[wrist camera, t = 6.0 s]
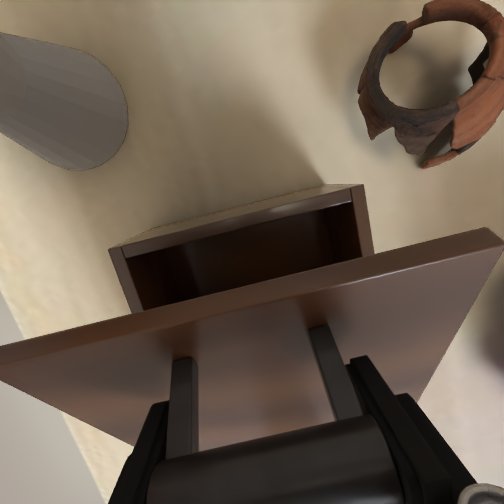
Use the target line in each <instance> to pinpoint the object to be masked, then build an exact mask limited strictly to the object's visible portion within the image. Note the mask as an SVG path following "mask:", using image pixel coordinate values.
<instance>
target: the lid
mask: <svg viewBox="0 0 504 504" xmlns="http://www.w3.org/2000/svg"><path fill="white" fill-rule="evenodd" d="M503 250H504V241H503V240H502V239H501V238H500V237H499V236H497V235H496V234H495V233H494V232H492V231H491V230H490V229H489V228H487V227H483V228H479V229H475V230H471V231H467V232H463V233H459V234H455V235H451V236H447V237H443V238H438V239H434V240H430V241H426V242H422V243H418V244H414V245H410V246H406V247H402V248H398V249H394V250H390V251H385V252H381V253H377V254H373V255H369V256H365V257H361V258H357V259H353V260H349V261H345V262H341V263H337V264H332V265H328V266H324V267H320V268H316V269H312V270H308V271H304V272H300V273H296V274H292V275H288V276H284V277H280V278H275V279H271V280H267V281H263V282H259V283H255V284H251V285H247V286H243V287H239V288H235V289H231V290H227V291H222V292H218V293H214V294H210V295H206V296H202V297H198V298H194V299H190V300H186V301H182V302H178V303H174V304H169V305H165V306H161V307H157V308H153V309H149V310H145V311H141V312H137V313H133V314H129V315H125V316H121V317H116V318H112V319H108V320H104V321H100V322H96V323H92V324H88V325H84V326H80V327H76V328H72V329H68V330H64V331H59V332H55V333H51V334H47V335H43V336H39V337H35V338H31V339H27V340H23V341H19V342H15V343H11V344H7V345H2V346H0V380H1V381H2V382H5V383H7V384H9V385H11V386H13V387H15V388H17V389H19V390H21V391H23V392H25V393H27V394H29V395H31V396H33V397H35V398H37V399H39V400H41V401H43V402H45V403H47V404H49V405H51V406H53V407H55V408H57V409H59V410H61V411H63V412H65V413H67V414H69V415H71V416H73V417H75V418H77V419H79V420H81V421H83V422H85V423H87V424H89V425H91V426H93V427H95V428H97V429H99V430H101V431H103V432H105V433H107V434H110V435H112V436H114V437H116V438H118V439H120V440H122V441H124V442H126V443H128V444H130V445H132V446H134V447H135V444H136V442H137V439H138V437H139V434H140V432H141V430H142V427H143V425H144V422H145V420H146V417H147V415H148V412H149V410H150V407H151V406H152V404H154V403H158V402H162V401H167V400H169V413H168V428H167V443H166V458H165V459H164V460H161V461H160V462H159V463H158V464H157V465H156V466H155V468H154V470H153V472H152V474H151V477H150V481H149V485H148V489H147V495H146V504H405V497H404V491H403V486H402V482H401V478H400V475H399V472H398V469H397V466H396V463H395V460H394V458H393V455H392V453H391V450H390V448H389V445H388V443H387V441H386V439H385V437H384V434H383V432H382V431H381V429H380V427H379V425H378V423H377V422H376V420H375V419H374V418H373V416H372V415H370V414H364V413H363V410H362V408H361V405H360V403H359V400H358V398H357V395H356V393H355V390H354V388H353V385H352V382H351V380H350V377H349V375H348V372H347V370H346V367H345V365H346V364H350V359H351V358H355V357H359V356H364V355H367V356H368V357H369V358H370V360H371V361H372V363H373V364H374V366H375V367H376V369H377V370H378V372H379V373H380V374H381V376H382V377H383V379H384V380H385V382H386V383H387V385H388V386H389V388H390V389H391V391H392V392H393V393H394V395H398V394H402V393H408V394H410V396H411V397H412V398H413V399H414V400H415V402H416V403H417V402H418V400H419V399H420V397H421V395H422V393H423V391H424V390H425V388H426V386H427V384H428V383H429V381H430V379H431V377H432V376H433V374H434V372H435V370H436V368H437V367H438V365H439V363H440V361H441V360H442V358H443V356H444V354H445V352H446V351H447V349H448V347H449V345H450V344H451V342H452V340H453V338H454V337H455V335H456V333H457V331H458V329H459V328H460V326H461V324H462V322H463V321H464V319H465V317H466V315H467V313H468V312H469V310H470V308H471V306H472V305H473V303H474V301H475V299H476V298H477V296H478V294H479V292H480V290H481V289H482V287H483V285H484V283H485V282H486V280H487V278H488V276H489V275H490V273H491V271H492V269H493V267H494V266H495V264H496V262H497V260H498V259H499V257H500V255H501V253H502V251H503Z"/></svg>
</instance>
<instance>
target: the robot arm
mask: <svg viewBox="0 0 504 504" xmlns="http://www.w3.org/2000/svg"><path fill="white" fill-rule="evenodd" d="M345 367H346V370H347V372H348V375H349V377H350V380H351V382H352V385H353V388H354V390H355V393H356V395H357V398H358V400H359V403H360V405H361V408H362V410H363V413H364V414H370V415H372V416H373V418H374V419H375V420H376V422H377V423H378V425H379V427H380V429H381V431H382V432H383V434H384V437H385V439H386V441H387V443H388V445H389V448H390V450H391V453H392V455H393V458H394V460H395V463H396V466H397V469H398V472H399V475H400V478H401V482H402V486H403V491H404V497H405V504H504V488H502V487H499V486H495V485H491V484H487V483H485V484H478V483H477V482H476V481H475V479H474V478H473V477H472V475H471V474H470V473H469V471H468V470H467V469H466V467H465V466H464V465H463V464H462V462H461V461H460V460H459V458H458V457H457V456H456V454H455V453H454V452H453V450H452V449H451V448H450V446H449V445H448V444H447V442H446V441H445V440H444V438H443V437H442V436H441V435H440V433H439V432H438V431H437V429H436V428H435V427H434V425H433V424H432V423H431V421H430V420H429V419H428V417H427V416H426V415H425V413H424V412H423V411H422V410H421V408H420V407H419V406H418V404H417V403H416V402H415V400H414V399H413V398H412V397H411V396H410V394H408V393H402V394H398V395H394V393H393V392H392V391H391V389H390V388H389V386H388V385H387V383H386V382H385V380H384V379H383V377H382V376H381V374H380V373H379V372H378V370H377V369H376V367H375V366H374V364H373V363H372V361H371V360H370V358H369V357H368V356H367V355H364V356H359V357H355V358H351V359H350V364H346V365H345ZM168 413H169V400H167V401H162V402H158V403H154V404H152V406H151V407H150V410H149V412H148V415H147V417H146V420H145V422H144V425H143V427H142V430H141V432H140V434H139V437H138V439H137V442H136V444H135V447H134V449H133V452H132V454H131V455H130V456H129V457H128V458H127V460H126V462H125V464H124V466H123V469H122V471H121V474H120V476H119V478H118V481H117V483H116V486H115V488H114V490H113V493H112V495H111V498H110V500H109V502H108V504H146V495H147V489H148V485H149V481H150V477H151V474H152V472H153V470H154V468H155V466H156V465H157V464H158V463H159V462H160V461H161V460H164V459H165V458H166V443H167V428H168Z"/></svg>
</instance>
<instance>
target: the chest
mask: <svg viewBox="0 0 504 504" xmlns="http://www.w3.org/2000/svg"><path fill="white" fill-rule="evenodd" d="M108 252H109V254H110V257H111V259H112V262H113V265H114V267H115V270H116V273H117V275H118V278H119V281H120V283H121V286H122V289H123V291H124V294H125V296H126V299H127V302H128V304H129V307H130V310H131V312H132V314H133V313H137V312H141V311H145V310H149V309H153V308H157V307H161V306H165V305H169V304H174V303H178V302H182V301H186V300H190V299H194V298H198V297H202V296H206V295H210V294H214V293H218V292H222V291H227V290H231V289H235V288H239V287H243V286H247V285H251V284H255V283H259V282H263V281H267V280H271V279H275V278H280V277H284V276H288V275H292V274H296V273H300V272H304V271H308V270H312V269H316V268H320V267H324V266H328V265H332V264H337V263H341V262H345V261H349V260H353V259H357V258H361V257H365V256H369V255H373V254H374V247H373V241H372V235H371V228H370V222H369V215H368V209H367V202H366V196H365V190H364V185H363V184H325V185H321V186H317V187H313V188H309V189H305V190H301V191H298V192H294V193H290V194H286V195H282V196H278V197H274V198H270V199H266V200H262V201H258V202H254V203H251V204H247V205H243V206H239V207H235V208H231V209H227V210H223V211H219V212H215V213H211V214H208V215H204V216H200V217H196V218H192V219H188V220H184V221H180V222H176V223H172V224H168V225H165V226H161V227H157V228H153V229H150V230H148V231H146V232H143V233H141V234H139V235H137V236H135V237H133V238H131V239H129V240H126V241H124V242H122V243H120V244H118V245H116V246H114V247H111V248H109V249H108Z"/></svg>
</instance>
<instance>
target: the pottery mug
mask: <svg viewBox="0 0 504 504" xmlns="http://www.w3.org/2000/svg"><path fill="white" fill-rule="evenodd" d="M439 21H461V22H465V23H468V24H471V25H473V26H475V27H476V28H477V29H478V30H480V31H481V32H482V33H483V34H484V36H485V37H486V39H487V43H486V45H485V47H484V49H483V51H482V52H481V53H480V55H479V56H478V57H477V59H476V60H475V61H474V62H473V64H472V65H470V66H469V68H468V71H469V74H470V76H471V78H472V82H473V86H472V87H471V88H470V89H469V90H468V91H466V92H465V93H464V94H462V95H461V96H459V97H458V98H456V99H455V100H453V101H452V102H451V103H448V104H445V105H442V106H439V107H435V108H431V109H408V108H403V107H401V106H397V105H395V104H394V103H393V102H391V101H390V100H389V99H388V97H386V95H385V94H384V93H383V91H382V89H381V87H380V82H379V72H380V68H381V65H382V62H383V60H384V58H385V56H386V54H387V53H388V52H389V53H393V52H394V51H396V50H397V49H398V48H400V47H401V46H402V45H403V44H405V43H406V42H407V41H408V40H409V39H410V38H411V37H412V34H413V30H414V29H416V28H418V27H421V26H424V25H427V24H430V23H434V22H439ZM357 91H358V94H360V96H359V99H358V104H359V107H360V110H361V111H362V114H363V116H364V118H365V121H366V125H367V128H368V134H369V137H370V139H371V140H374V139H375V137H376V136H377V135H379V134H381V133H382V132H384V131H385V130H387V129H389V128H391V127H394V128H395V136H396V138H397V140H398V142H399V143H400V144H402V145H403V146H404V147H405V150H406V152H407V153H409V154H416V155H420V154H423V153H424V152H425V149H426V148H427V145H428V144H429V143H430V142H432V141H433V140H434V139H435V138H436V136H437V135H438V134H439V132H441V131H442V130H443V129H444V128H445V126H446V125H448V124H449V123H450V122H451V123H452V127H453V131H452V137H451V140H450V146H451V147H452V149H451V150H450V151H448V152H447V153H445V154H444V155H441V156H438V157H434V158H431V159H428V160H427V161H426V162H424V163H423V164H422V165H421V167H422V168H423V169H425V168H429V167H433V166H436V165H439V164H441V163H443V162H446V161H448V160H451V159H453V158H454V157H456V156H457V155H459V154H461V153H462V152H464V151H466V150H467V149H469V148H470V147H472V146H473V145H474V144H475V143H476V142H477V141H478V140H479V139H480V138H481V137H482V136H483V135H484V134H485V133H486V132H487V131H488V130H489V129H490V128H491V127H492V126H493V124H494V123H495V122H496V119H497V118H498V116H499V114H500V113H501V111H502V110H503V109H504V17H503V16H502V14H501V13H500V12H498V11H497V10H496V9H495V8H493V7H492V6H491V5H489V4H486V3H485V2H482V1H480V0H434V1H431V2H428V3H426V4H425V5H424V8H423V11H422V17H420V18H418V19H416V20H414V21H412V22H410V23H408V24H407V22H405V21H400V22H394V23H392V24H391V25H390V26H389V27H388V28H387V30H386V31H385V32H384V33H383V34H382V35H381V37H380V38H379V40H378V42H377V43H376V45H375V46H374V48H373V50H372V52H371V54H370V56H369V59H368V61H367V63H366V65H365V67H364V69H363V71H362V74H361V77H360V81H359V85H358V90H357Z"/></svg>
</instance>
